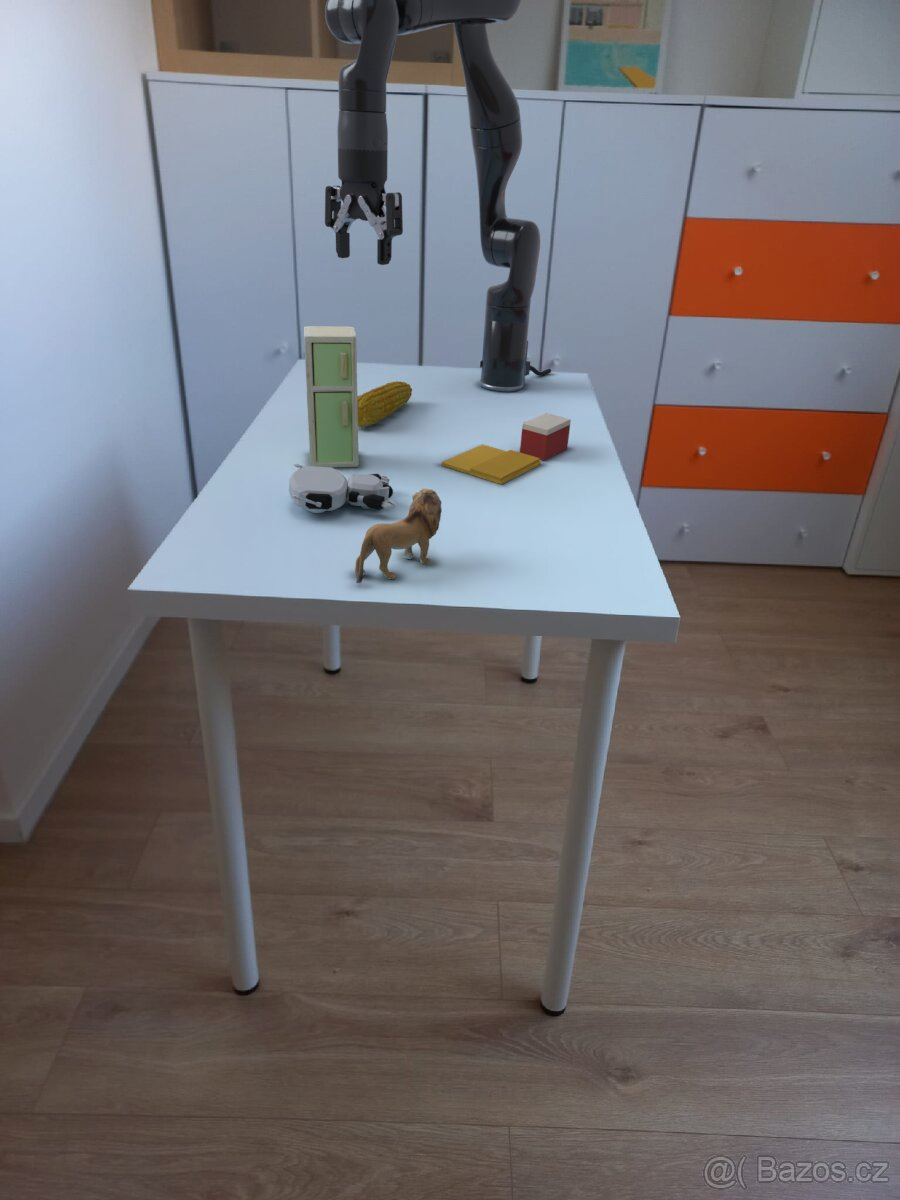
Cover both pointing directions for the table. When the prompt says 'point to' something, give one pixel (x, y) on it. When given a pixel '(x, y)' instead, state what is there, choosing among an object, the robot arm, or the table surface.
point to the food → (382, 402)
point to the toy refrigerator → (332, 395)
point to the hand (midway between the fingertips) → (363, 260)
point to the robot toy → (338, 489)
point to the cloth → (492, 463)
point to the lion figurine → (403, 533)
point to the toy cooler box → (545, 436)
